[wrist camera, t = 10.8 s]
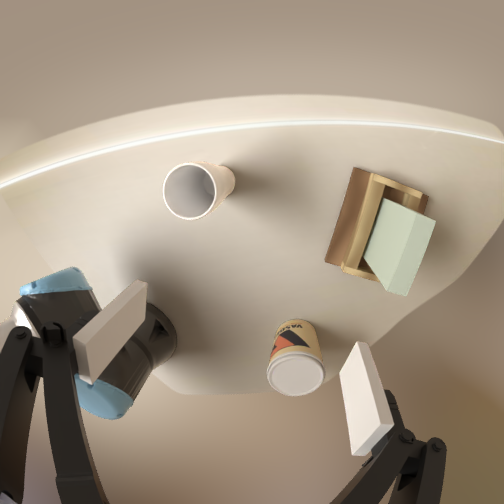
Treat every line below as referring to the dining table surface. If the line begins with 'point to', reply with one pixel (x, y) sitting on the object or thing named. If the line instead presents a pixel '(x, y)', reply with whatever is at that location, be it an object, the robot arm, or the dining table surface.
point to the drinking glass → (197, 189)
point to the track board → (353, 212)
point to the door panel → (397, 245)
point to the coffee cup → (295, 359)
